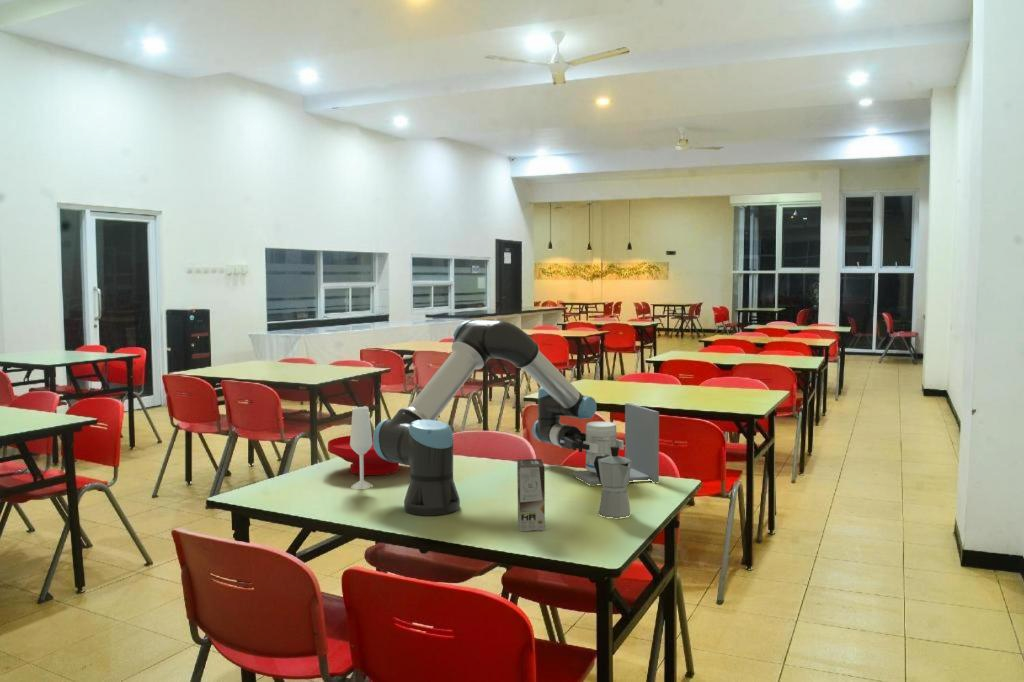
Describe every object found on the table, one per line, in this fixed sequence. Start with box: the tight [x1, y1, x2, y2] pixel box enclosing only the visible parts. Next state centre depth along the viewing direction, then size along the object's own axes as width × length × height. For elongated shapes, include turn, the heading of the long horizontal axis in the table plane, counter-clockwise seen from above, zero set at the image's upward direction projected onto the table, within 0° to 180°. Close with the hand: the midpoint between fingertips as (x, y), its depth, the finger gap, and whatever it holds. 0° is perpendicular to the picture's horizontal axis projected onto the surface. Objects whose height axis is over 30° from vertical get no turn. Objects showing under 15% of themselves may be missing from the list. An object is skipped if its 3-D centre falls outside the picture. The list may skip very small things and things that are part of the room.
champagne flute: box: [350, 406, 374, 490], centre depth 235 cm, size 7×7×24 cm
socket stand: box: [572, 402, 660, 485], centre depth 244 cm, size 20×21×22 cm
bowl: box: [327, 433, 400, 476], centre depth 258 cm, size 30×30×10 cm
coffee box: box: [516, 458, 546, 532], centre depth 194 cm, size 9×6×16 cm
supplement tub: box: [585, 420, 617, 473], centre depth 243 cm, size 10×10×15 cm
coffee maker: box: [594, 446, 632, 518], centre depth 205 cm, size 15×9×18 cm, turn 30°
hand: (610, 447), depth 239 cm, fingers closed on supplement tub, 9 cm apart
